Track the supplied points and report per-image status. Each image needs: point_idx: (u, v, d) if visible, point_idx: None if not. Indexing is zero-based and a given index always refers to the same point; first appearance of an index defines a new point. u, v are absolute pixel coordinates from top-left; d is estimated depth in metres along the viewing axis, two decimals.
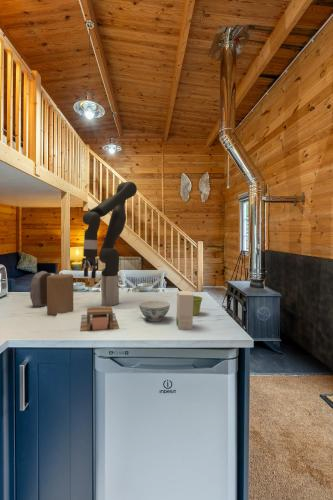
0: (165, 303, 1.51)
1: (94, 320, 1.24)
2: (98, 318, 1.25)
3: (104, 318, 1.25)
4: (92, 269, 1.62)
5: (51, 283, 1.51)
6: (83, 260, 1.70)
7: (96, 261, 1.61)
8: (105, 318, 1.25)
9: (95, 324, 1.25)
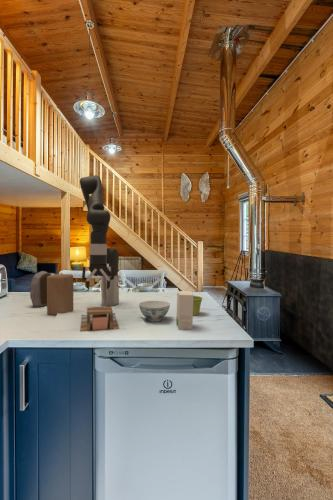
0: (165, 303, 1.51)
1: (94, 320, 1.24)
2: (98, 318, 1.25)
3: (104, 318, 1.25)
4: (86, 278, 1.37)
5: (51, 283, 1.51)
6: None
7: None
8: (105, 318, 1.25)
9: (95, 324, 1.25)
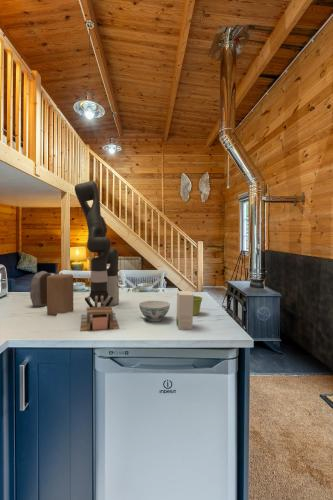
0: (165, 303, 1.51)
1: (94, 320, 1.24)
2: (98, 318, 1.25)
3: (104, 318, 1.25)
4: None
5: (51, 283, 1.51)
6: None
7: (85, 300, 1.36)
8: (105, 318, 1.25)
9: (95, 324, 1.25)
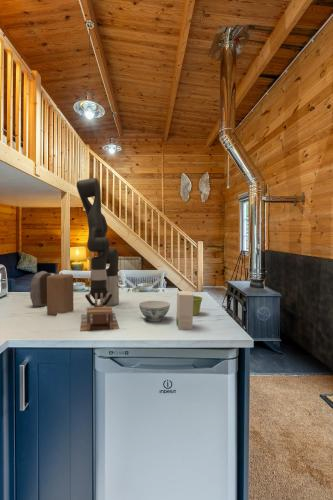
0: (165, 303, 1.51)
1: (94, 315, 1.32)
2: None
3: None
4: None
5: (51, 283, 1.51)
6: None
7: (86, 297, 1.44)
8: None
9: (95, 319, 1.32)
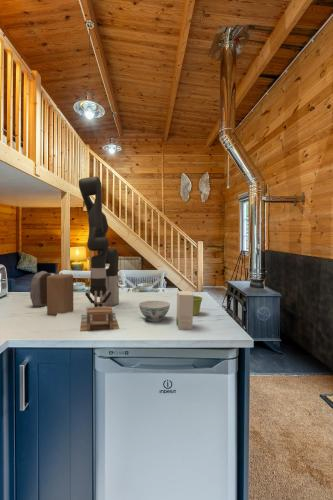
0: (165, 303, 1.51)
1: None
2: None
3: None
4: None
5: (51, 283, 1.51)
6: None
7: (86, 295, 1.49)
8: None
9: (95, 316, 1.37)
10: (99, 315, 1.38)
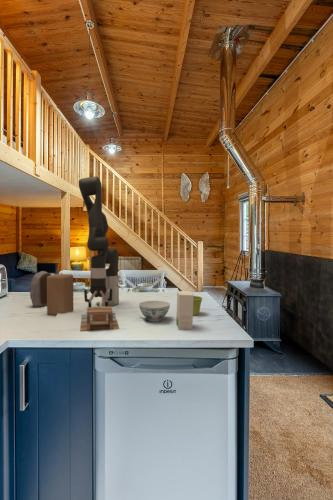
0: (165, 303, 1.51)
1: None
2: None
3: None
4: None
5: (51, 283, 1.51)
6: None
7: (84, 291, 1.49)
8: None
9: (94, 316, 1.37)
10: (99, 315, 1.38)
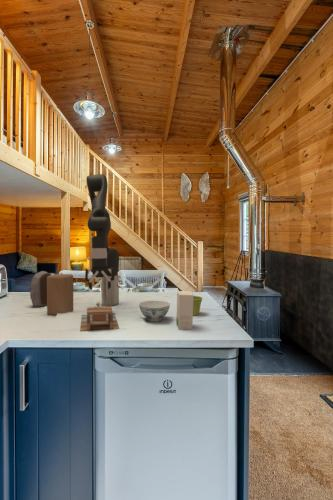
0: (165, 303, 1.51)
1: None
2: None
3: None
4: None
5: (51, 283, 1.51)
6: None
7: (85, 271, 1.48)
8: None
9: (94, 316, 1.37)
10: (99, 315, 1.38)
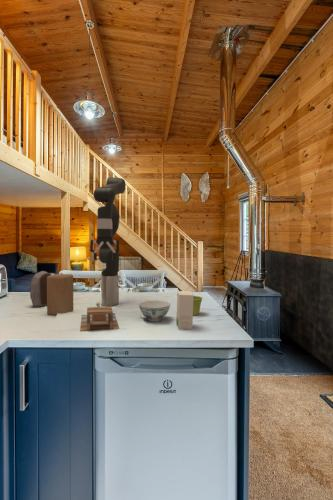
0: (165, 303, 1.51)
1: None
2: None
3: None
4: None
5: (51, 283, 1.51)
6: None
7: None
8: None
9: (94, 316, 1.37)
10: (99, 315, 1.38)
